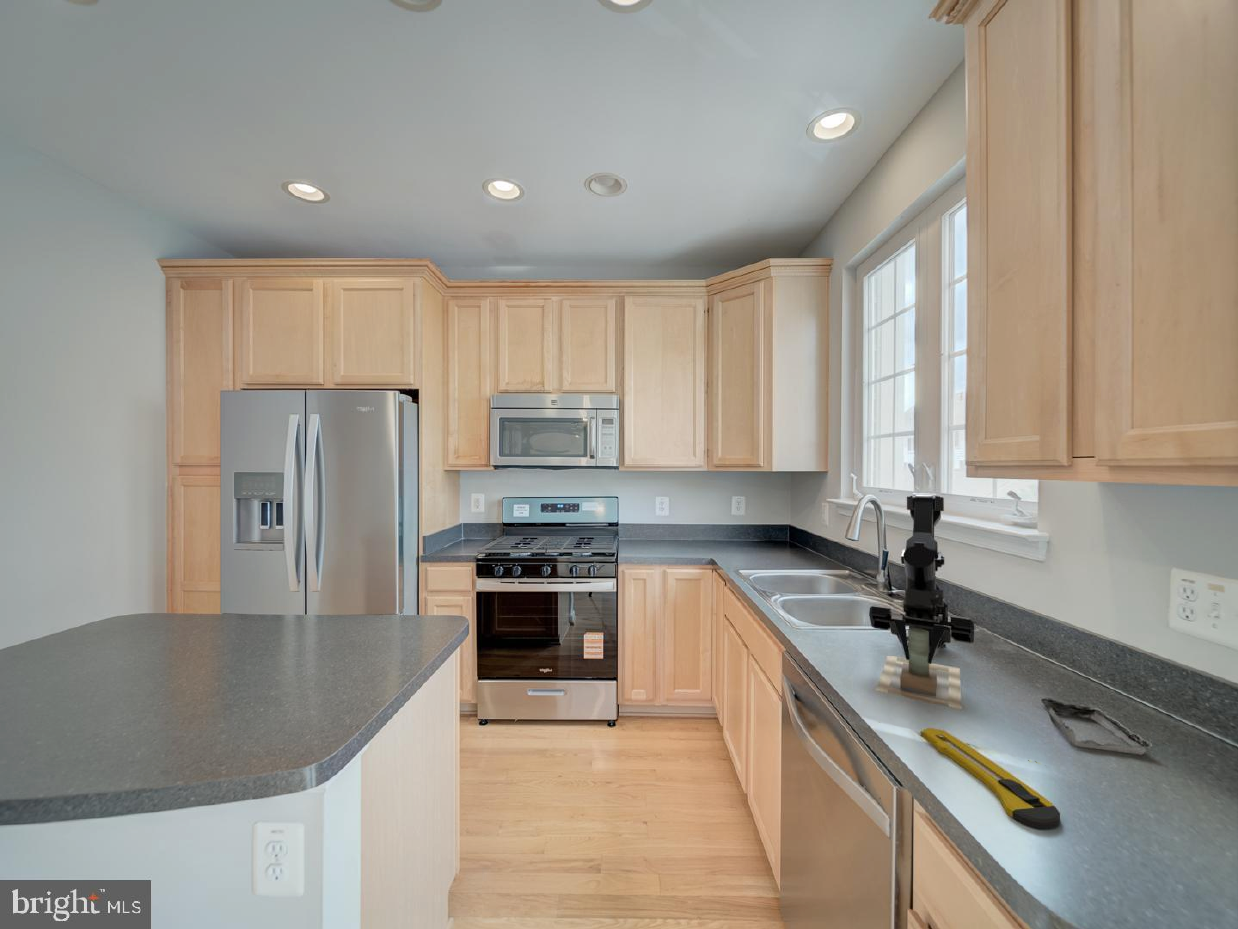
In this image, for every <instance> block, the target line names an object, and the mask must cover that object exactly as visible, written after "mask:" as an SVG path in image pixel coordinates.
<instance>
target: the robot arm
mask: <svg viewBox="0 0 1238 929" xmlns="http://www.w3.org/2000/svg"><path fill="white" fill-rule="evenodd" d="M906 510H908V511H909V513H910V517H911V519H912V521H913V524H912V525H913V528H912V536H910V537H909V538H908V539H907V540H906V544H905V545H906V546H905V549H904V548H903V549H902V551H901V556H900V561H901V564H902V565H903V566H904V573H905V576H906V578H905V579H906V580H905V581H906V583H905V585H906V586H905V590H904V598H903V609H902V610H903V612H904V614H903V613H901V612H895V611H891V610H892V609H891V607H890V606H882V605H877V604H873V605H870V607H869V613H868V616H869V620H870V625H871V627H872V628H873V629H876V630H877V629H879V630H886V631H888V630H890V633H891V634H892V635H895V636H897V640H898V641H899V642H900V644H901V648H902V651H903V653H904V657H905V659H906V660H909V652H908V634H907V628H906V626H908V629H909V628H919V629H924V630H927V631H928V632H929V664H932V663H933V662H934V660H935V658H936V656H937V654H938V653H939V651H940V649H941V648H942V647H947V644H950V643H951V642H952V640H951V638H952V639H953V641H956V642H962V643H968V644H973V643H974V642H975V621H974V620H973V619H972V618H971V617H966V616H961V615H960V616H958V615H952V614H950V621H949V605H948V604H947V603H946V601H945V598H944V590H943V589H940V588H939V586H938V585H937V584H938V583H937V575H936V572H938V570H939V568H942V566H944V565H945V557H944V555H943V554H942V551H939V549H938V548H939V547H938V545H939V544H938V541H937V540H936V539H935V527H936V526H937V524H939V522H940V521H941V517H942V512H944V511H945V498H944V497H942V496H939V493H928V492H927V493H921V492H919V493H917V492H915V493H914V492H912V495H910V496H906Z"/></svg>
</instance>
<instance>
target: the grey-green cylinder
mask: <svg viewBox="0 0 1238 929" xmlns="http://www.w3.org/2000/svg"><path fill="white" fill-rule="evenodd" d="M907 630H908V631H907V633H908V634H907V636H908V639H907V643H908V652H909V664H905V663H903V667H902V671H901V676H900V689H904V690H909V691H914V692H918V693H923V694H928V695H932V696H936V690H937V669H932V668H929V651H930V647H929V632H928V631H927V630H924V629H919V628H909V627H908V629H907Z"/></svg>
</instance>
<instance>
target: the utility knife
mask: <svg viewBox="0 0 1238 929" xmlns="http://www.w3.org/2000/svg"><path fill="white" fill-rule="evenodd" d="M920 736H921V737H922V738H923V739H924V740H925V741H927V742H928V743H929V744H931V745H932V746H934V747H935V748H936V751H938V752H940V753H941V754H942V755H946V756H947V757H948V758H950V759H951V760H952V761H954V762H955V763H957V764H958V765H960V766H961V767H962V768H963V769H964V770H966V771H967V772H969V773H971V775H973V776H974V777H975V778H977V780H979V781H980V782H982V783H983V784H984V785H985V786H986V787H987V788H989V789H990V790H991V791H992V792H993V793H994V794H995V795H996V797H997V798H998V800H999V801H1000V803H1001V805H1002V807H1003V809H1004V811H1005V813H1006V814H1007V815H1008V816H1010V817H1011V818H1012V819H1014V820H1016V821H1017V822H1019V823H1020V824H1022V825H1025V826H1027V827H1030V828H1032V829H1037V830H1043V831H1044V830H1046V831H1047V830H1052V829H1053V830H1054V829H1056V828H1058V827H1059V826H1060V824H1061V812H1060V811H1059V809H1058V808H1057V807H1056V806H1055V805H1054V804H1053V802H1051V801H1050V800H1048V798H1046V797H1044V796H1043V795H1041V793H1039V792H1038V791H1036V790H1035V789H1033V787H1031V786H1029V785H1028V784H1026V783H1024V782H1023V781H1021V779H1019V778H1018V777H1016V776H1014V775H1013V774H1012V773H1010V772H1009V771H1007V770H1005V769H1004V768H1003V767H1002V766H1000V765H999V764H997V763H995V762H994V761H992V760H991V759H989V758H988V757H987V756H985V755H983V754H982V753H980V752H979V751H977V750H976V749H974V748H973V747H971V746H970V745H968V744H966V743H965V742H963V741H962V740H960V739H959V738H956V737H955V736H953V735H952V734H950V733H948V732H947V731H945V730H943V729H939V728H933V727H927V728H925V729H922V730H921V731H920Z"/></svg>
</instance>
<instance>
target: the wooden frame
mask: <svg viewBox="0 0 1238 929" xmlns="http://www.w3.org/2000/svg"><path fill="white" fill-rule="evenodd" d="M903 663H905V664H909V660H906V657H905V658H904V657H899V656H892V655H887V656H886V660H885V662H884V666H883V669H882V671H881V674H880V677H879V680H878V684H877V687H876V691H878V692H880V693H881V692H882V693H884V694H885V693H886V694H889V695H890V694H891V695H893V696H894V695H895V696H900V697H904V698H909V699H912V700H913V699H914V700H917V701H922V702H927V703H931V704H936V705H940V706H944V707H950V708H953V709H957V710H962V692H961V691H962V690H961V689H962V688H961V669H960V668H959V667H954V666H949V665H943V664H938V663H933V662H932V664H929V668H932V669H937V690H936V696H932V695H928V694H923V693H918V692H914V691H909V690H904V689H900V676H901V671H902V667H903Z"/></svg>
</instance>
